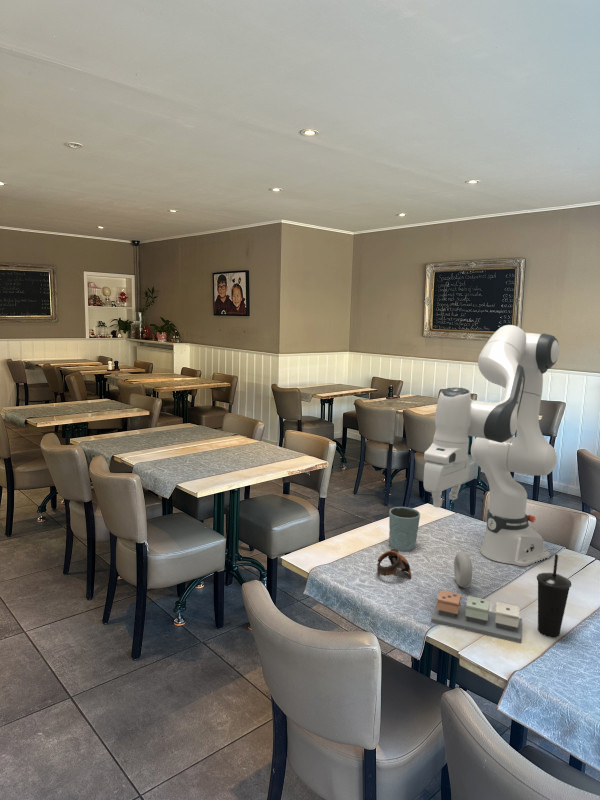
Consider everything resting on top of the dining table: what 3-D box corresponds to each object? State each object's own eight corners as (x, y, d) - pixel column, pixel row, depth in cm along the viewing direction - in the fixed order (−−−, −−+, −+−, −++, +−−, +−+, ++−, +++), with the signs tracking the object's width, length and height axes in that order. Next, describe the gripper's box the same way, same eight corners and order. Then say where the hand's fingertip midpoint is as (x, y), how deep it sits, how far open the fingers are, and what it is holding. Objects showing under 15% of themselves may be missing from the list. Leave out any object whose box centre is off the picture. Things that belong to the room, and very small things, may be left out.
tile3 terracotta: (436, 609, 140) (437, 598, 140) (439, 600, 145) (440, 589, 145) (457, 614, 138) (458, 603, 138) (460, 604, 143) (461, 593, 143)
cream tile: (495, 622, 135) (496, 611, 135) (496, 612, 140) (497, 601, 139) (518, 627, 133) (519, 616, 133) (518, 617, 138) (519, 606, 137)
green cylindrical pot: (403, 538, 191) (406, 505, 189) (424, 549, 183) (427, 514, 181) (380, 543, 186) (382, 509, 184) (401, 555, 178) (403, 519, 176)
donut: (451, 577, 163) (453, 545, 162) (463, 578, 163) (465, 545, 162) (459, 594, 153) (462, 560, 152) (472, 594, 153) (475, 560, 152)
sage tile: (465, 615, 138) (466, 604, 137) (467, 606, 142) (468, 595, 142) (487, 620, 136) (488, 609, 135) (488, 610, 140) (489, 600, 140)
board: (430, 622, 139) (431, 612, 138) (437, 603, 148) (437, 594, 148) (520, 643, 131) (521, 633, 131) (521, 622, 140) (522, 613, 140)
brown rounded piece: (415, 585, 159) (404, 564, 156) (385, 595, 161) (373, 574, 158) (411, 557, 170) (400, 537, 167) (382, 567, 172) (371, 547, 169)
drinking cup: (525, 623, 139) (533, 548, 136) (554, 623, 140) (563, 548, 137) (541, 641, 132) (549, 561, 129) (572, 640, 133) (581, 561, 130)
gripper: (455, 444, 153) (450, 492, 155) (420, 453, 137) (416, 508, 139) (477, 447, 149) (472, 497, 151) (444, 458, 133) (439, 514, 135)
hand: (445, 502), depth 145 cm, fingers open, 8 cm apart
